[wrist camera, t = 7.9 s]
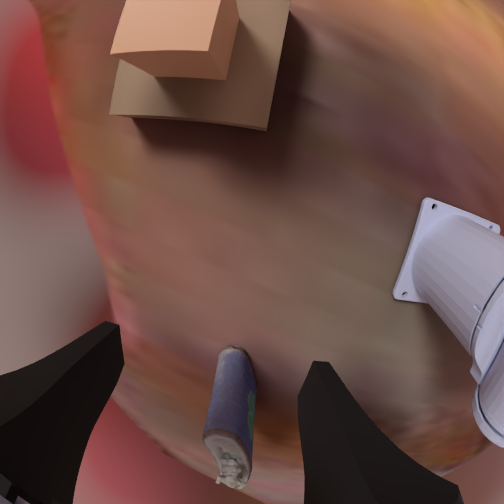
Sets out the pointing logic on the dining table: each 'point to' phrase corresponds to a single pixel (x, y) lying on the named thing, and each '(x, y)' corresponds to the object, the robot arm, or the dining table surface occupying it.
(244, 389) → the flask
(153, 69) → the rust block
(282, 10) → the base
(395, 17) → the dining table surface
